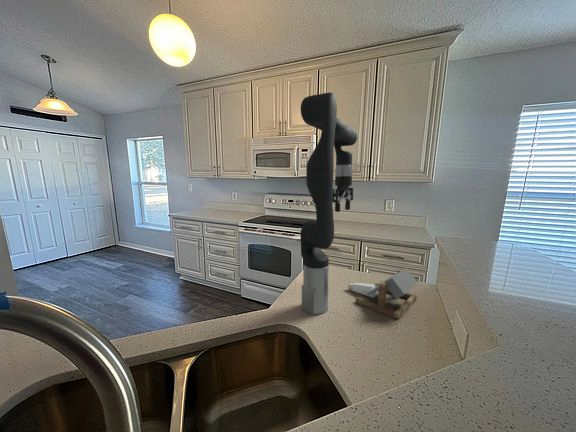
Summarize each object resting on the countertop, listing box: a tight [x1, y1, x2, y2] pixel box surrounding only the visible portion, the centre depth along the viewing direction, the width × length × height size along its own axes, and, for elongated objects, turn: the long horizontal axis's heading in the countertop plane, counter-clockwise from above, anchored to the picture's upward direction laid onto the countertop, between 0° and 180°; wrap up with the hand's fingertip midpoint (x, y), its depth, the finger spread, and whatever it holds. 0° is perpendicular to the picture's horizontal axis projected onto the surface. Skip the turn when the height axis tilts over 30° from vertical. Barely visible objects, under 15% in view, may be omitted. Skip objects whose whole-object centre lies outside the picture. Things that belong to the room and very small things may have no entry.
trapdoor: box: [367, 267, 418, 300], centre depth 94 cm, size 14×13×7 cm
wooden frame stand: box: [355, 268, 418, 320], centre depth 96 cm, size 19×16×11 cm
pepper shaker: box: [347, 282, 377, 299], centre depth 103 cm, size 5×5×11 cm
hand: (342, 210), depth 114 cm, fingers open, 8 cm apart
